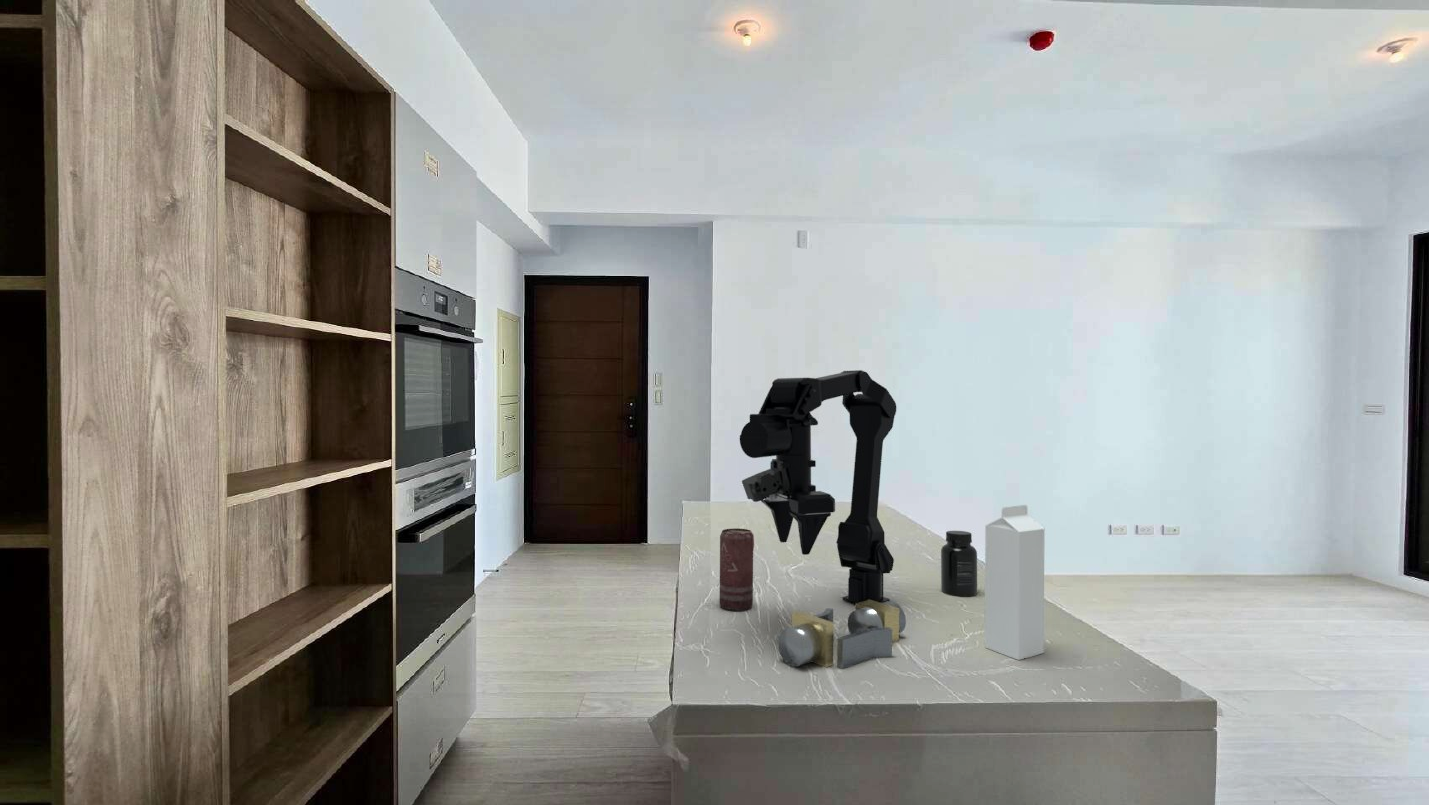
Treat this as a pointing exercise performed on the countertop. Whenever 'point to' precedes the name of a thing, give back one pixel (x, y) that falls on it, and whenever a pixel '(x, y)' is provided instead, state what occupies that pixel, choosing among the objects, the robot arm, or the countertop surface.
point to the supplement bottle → (959, 564)
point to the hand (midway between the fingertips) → (794, 548)
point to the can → (736, 569)
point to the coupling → (830, 642)
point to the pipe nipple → (877, 617)
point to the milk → (1014, 584)
